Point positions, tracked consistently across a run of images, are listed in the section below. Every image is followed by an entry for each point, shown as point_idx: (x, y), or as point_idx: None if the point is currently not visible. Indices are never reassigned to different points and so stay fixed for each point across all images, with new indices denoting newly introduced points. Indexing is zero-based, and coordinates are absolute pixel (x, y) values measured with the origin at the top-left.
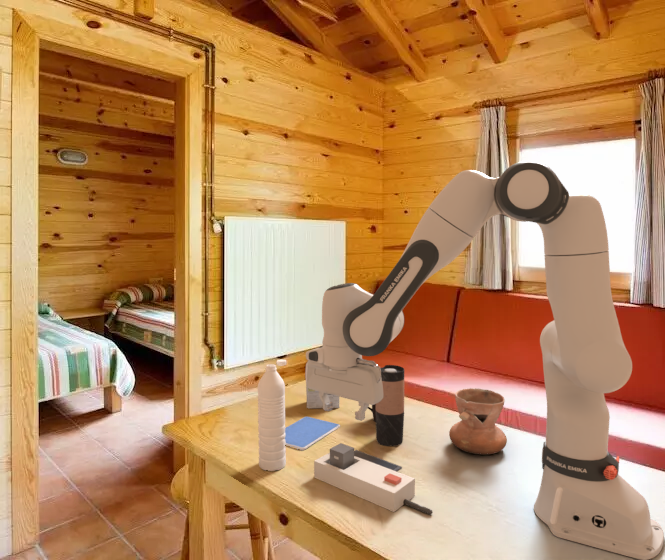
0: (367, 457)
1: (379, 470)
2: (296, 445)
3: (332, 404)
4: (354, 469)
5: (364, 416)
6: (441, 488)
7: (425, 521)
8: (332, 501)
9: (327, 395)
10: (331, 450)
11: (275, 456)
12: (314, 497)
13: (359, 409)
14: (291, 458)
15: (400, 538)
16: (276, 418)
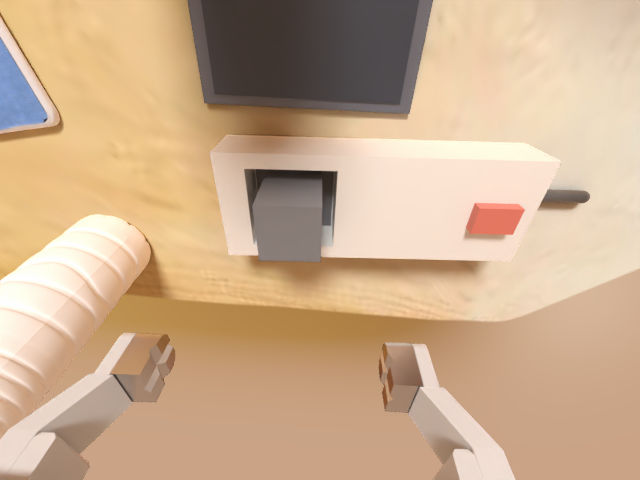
0: (274, 9)
1: (430, 189)
2: (19, 122)
3: (148, 363)
4: (357, 228)
5: (427, 357)
6: (617, 34)
7: (566, 222)
8: (347, 272)
9: (57, 419)
10: (267, 257)
11: (131, 283)
12: (307, 281)
13: (429, 444)
14: (102, 187)
15: (520, 287)
16: (45, 387)
